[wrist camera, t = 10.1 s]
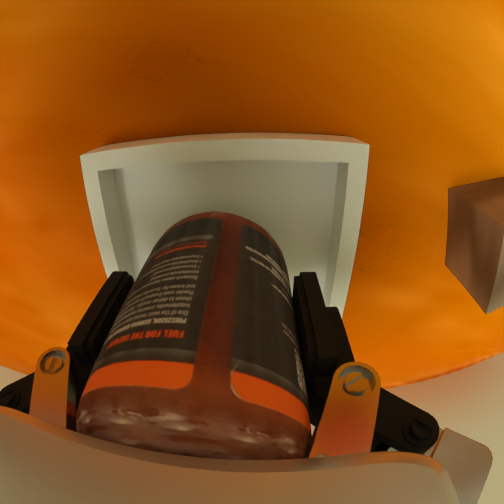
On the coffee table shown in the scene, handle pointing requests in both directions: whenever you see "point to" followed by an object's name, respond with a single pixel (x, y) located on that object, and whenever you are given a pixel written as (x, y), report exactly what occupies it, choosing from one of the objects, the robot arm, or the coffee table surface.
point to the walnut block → (478, 240)
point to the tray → (234, 196)
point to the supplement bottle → (204, 350)
